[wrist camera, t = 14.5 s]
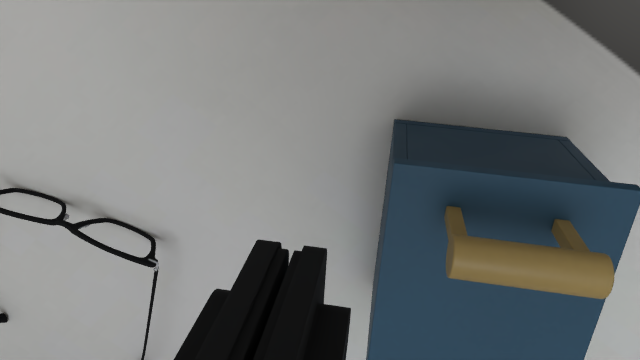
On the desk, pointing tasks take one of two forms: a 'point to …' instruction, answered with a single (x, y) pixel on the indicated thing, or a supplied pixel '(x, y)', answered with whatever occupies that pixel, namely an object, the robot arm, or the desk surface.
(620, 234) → the lid
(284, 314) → the robot arm
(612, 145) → the desk surface
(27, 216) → the eyeglasses
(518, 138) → the chest
